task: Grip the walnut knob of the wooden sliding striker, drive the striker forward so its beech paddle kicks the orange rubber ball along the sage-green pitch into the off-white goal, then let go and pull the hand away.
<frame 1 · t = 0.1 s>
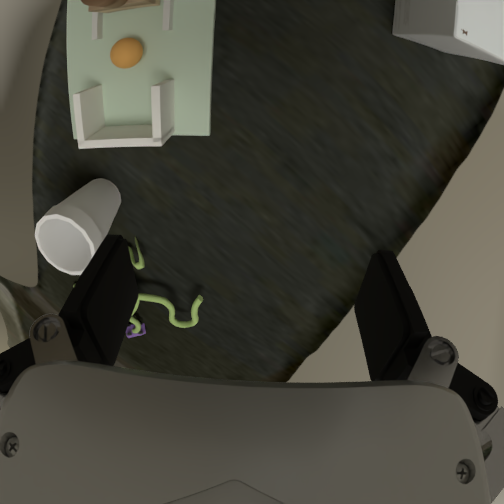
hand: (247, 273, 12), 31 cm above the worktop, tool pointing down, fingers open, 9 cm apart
supplement box: (423, 15, 27), on the worktop
foam cup: (103, 195, 45), on the worktop
figurine: (136, 289, 57), on the worktop
pitch: (135, 55, 32), on the worktop
ball: (126, 53, 29), point 3 cm above the worktop, touching pitch
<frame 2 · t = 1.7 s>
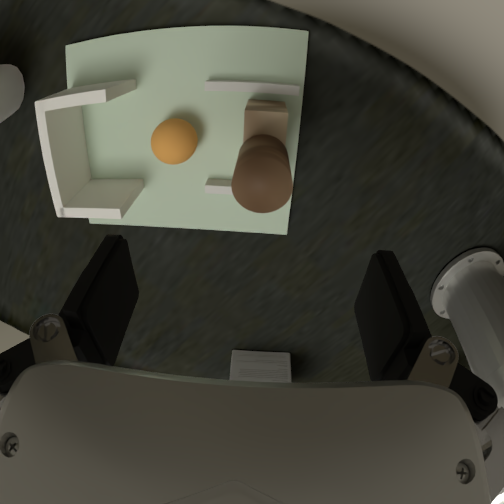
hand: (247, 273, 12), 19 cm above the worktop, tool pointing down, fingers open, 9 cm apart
supplement box: (259, 364, 49), on the worktop
foam cup: (7, 89, 24), on the worktop
striker: (263, 157, 22), point 6 cm above the worktop, slide at 0.0 cm
pitch: (177, 131, 27), on the worktop
ball: (174, 141, 25), point 3 cm above the worktop, touching pitch
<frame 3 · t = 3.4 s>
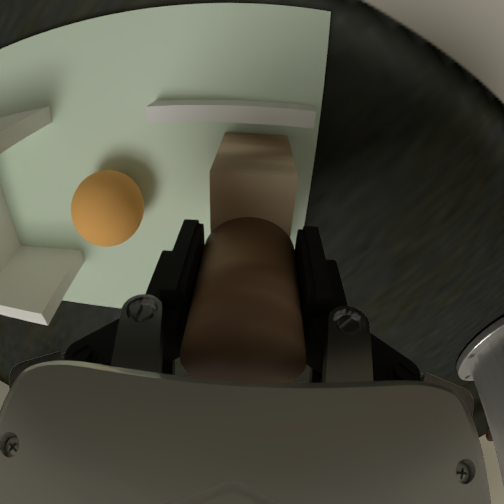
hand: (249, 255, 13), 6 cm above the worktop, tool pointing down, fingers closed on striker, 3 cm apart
brown irregular piece: (501, 410, 45), on the worktop
striker: (249, 256, 13), point 6 cm above the worktop, slide at 0.0 cm, touching gripper
pitch: (119, 183, 18), on the worktop
ball: (107, 208, 15), point 3 cm above the worktop, touching pitch
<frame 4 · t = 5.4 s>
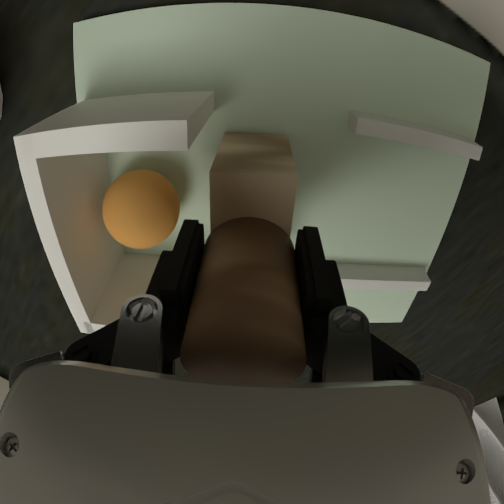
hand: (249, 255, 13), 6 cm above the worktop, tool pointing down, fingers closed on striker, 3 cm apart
skyscraper: (480, 406, 41), on the worktop
striker: (249, 256, 13), point 6 cm above the worktop, slide at 9.4 cm, touching gripper
pitch: (278, 188, 18), on the worktop
ball: (140, 208, 15), point 3 cm above the worktop, tilted 148°, touching pitch
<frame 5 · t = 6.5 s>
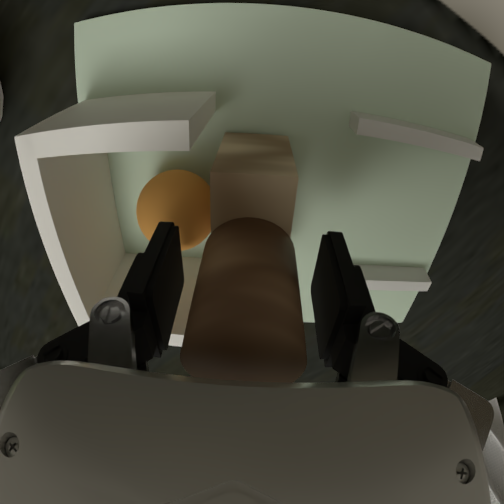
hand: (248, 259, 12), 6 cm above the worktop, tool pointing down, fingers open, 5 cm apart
skyscraper: (480, 406, 41), on the worktop
striker: (249, 256, 13), point 6 cm above the worktop, slide at 9.5 cm
pitch: (279, 188, 18), on the worktop
ball: (176, 210, 15), point 3 cm above the worktop, tilted 159°, touching pitch
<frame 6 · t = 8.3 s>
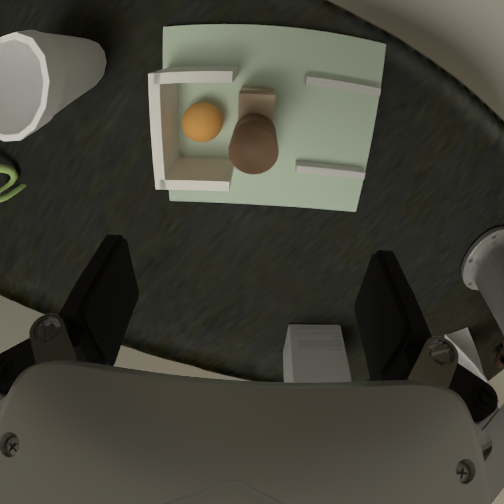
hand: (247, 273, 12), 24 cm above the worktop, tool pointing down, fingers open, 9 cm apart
supplement box: (310, 339, 53), on the worktop
foam cup: (83, 65, 27), on the worktop
skyscraper: (454, 337, 54), on the worktop
striker: (254, 133, 26), point 6 cm above the worktop, slide at 9.5 cm
pitch: (270, 117, 31), on the worktop
ball: (202, 122, 29), point 3 cm above the worktop, tilted 160°, touching pitch
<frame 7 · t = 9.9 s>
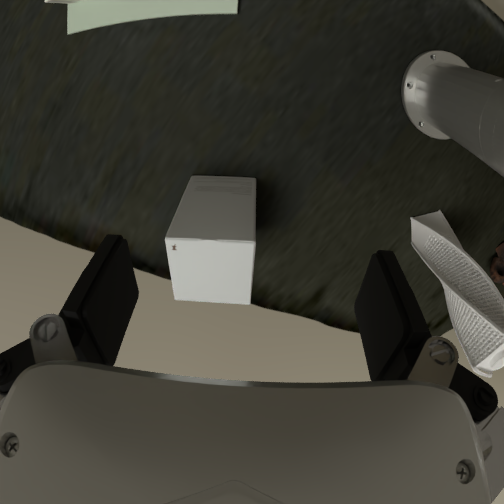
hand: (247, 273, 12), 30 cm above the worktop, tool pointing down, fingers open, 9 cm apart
supplement box: (224, 203, 45), on the worktop
brown irregular piece: (501, 255, 48), on the worktop
skyscraper: (426, 226, 45), on the worktop
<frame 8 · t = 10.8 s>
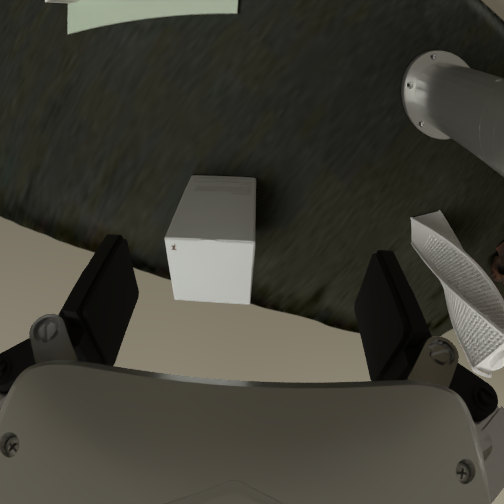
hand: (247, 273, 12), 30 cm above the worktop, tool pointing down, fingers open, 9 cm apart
supplement box: (223, 203, 45), on the worktop
brown irregular piece: (502, 254, 48), on the worktop
skyscraper: (426, 226, 45), on the worktop
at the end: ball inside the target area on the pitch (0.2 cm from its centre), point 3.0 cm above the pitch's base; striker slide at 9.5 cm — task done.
